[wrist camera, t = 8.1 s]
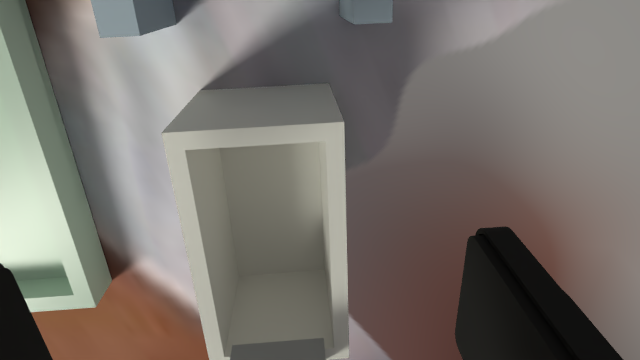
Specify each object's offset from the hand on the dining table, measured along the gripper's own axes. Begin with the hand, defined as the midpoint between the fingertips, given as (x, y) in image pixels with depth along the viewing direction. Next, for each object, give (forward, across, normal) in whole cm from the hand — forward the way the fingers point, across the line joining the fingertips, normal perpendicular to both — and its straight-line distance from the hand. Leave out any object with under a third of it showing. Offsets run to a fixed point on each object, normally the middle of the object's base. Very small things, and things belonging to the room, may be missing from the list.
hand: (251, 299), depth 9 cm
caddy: (+11, 0, +3) cm, 12 cm away
